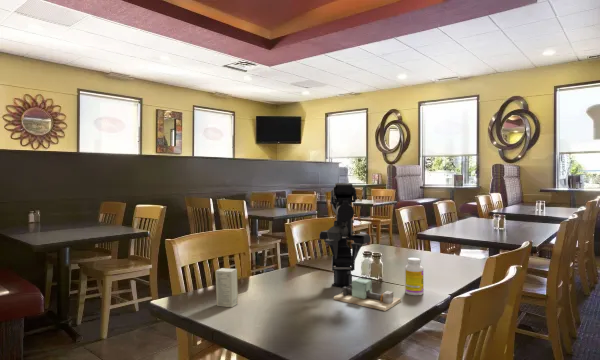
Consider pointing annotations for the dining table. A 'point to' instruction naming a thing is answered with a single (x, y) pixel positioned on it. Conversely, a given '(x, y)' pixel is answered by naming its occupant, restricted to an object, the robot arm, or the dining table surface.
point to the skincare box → (226, 287)
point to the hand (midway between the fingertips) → (344, 260)
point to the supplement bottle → (414, 277)
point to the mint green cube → (361, 287)
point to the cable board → (369, 299)
